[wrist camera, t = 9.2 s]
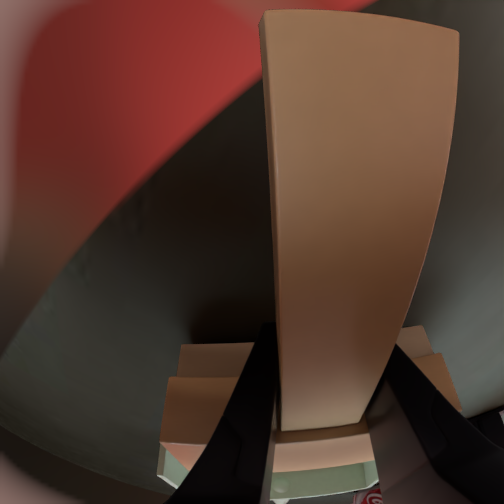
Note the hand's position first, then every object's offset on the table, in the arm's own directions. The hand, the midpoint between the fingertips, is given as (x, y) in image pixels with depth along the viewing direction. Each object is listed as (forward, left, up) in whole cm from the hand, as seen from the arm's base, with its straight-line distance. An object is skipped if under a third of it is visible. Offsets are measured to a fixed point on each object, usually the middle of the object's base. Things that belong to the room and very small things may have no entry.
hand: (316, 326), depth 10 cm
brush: (+1, 0, -1) cm, 2 cm away
